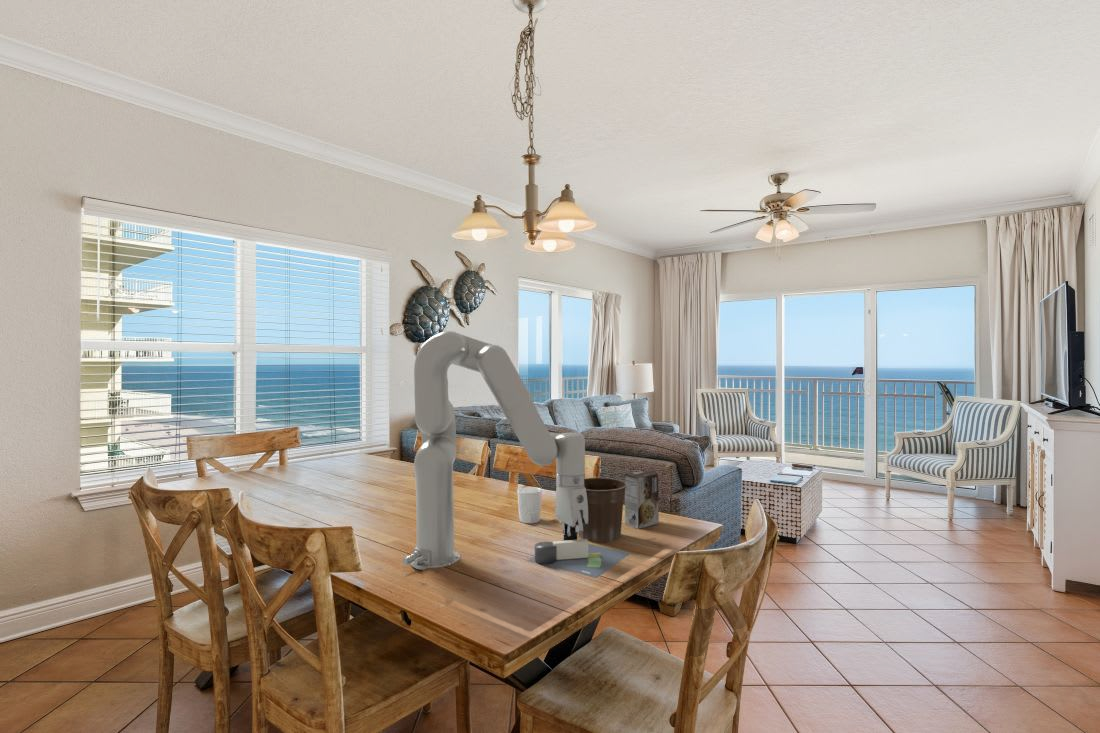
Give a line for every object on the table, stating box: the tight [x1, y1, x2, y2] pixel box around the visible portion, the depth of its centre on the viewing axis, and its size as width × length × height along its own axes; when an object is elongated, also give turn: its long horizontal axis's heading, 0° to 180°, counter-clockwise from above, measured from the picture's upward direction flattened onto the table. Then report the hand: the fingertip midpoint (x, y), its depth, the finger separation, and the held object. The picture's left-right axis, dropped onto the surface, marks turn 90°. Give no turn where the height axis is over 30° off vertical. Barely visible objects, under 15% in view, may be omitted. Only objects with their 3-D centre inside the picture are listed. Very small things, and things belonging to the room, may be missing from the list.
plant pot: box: [578, 477, 627, 543], centre depth 159 cm, size 16×16×16 cm
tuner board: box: [527, 543, 631, 579], centre depth 142 cm, size 19×20×1 cm
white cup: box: [517, 486, 543, 524], centre depth 176 cm, size 8×8×10 cm
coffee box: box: [624, 469, 660, 530], centre depth 172 cm, size 9×6×16 cm
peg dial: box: [534, 538, 601, 564], centre depth 140 cm, size 17×6×4 cm, turn 101°
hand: (570, 549), depth 144 cm, fingers closed
